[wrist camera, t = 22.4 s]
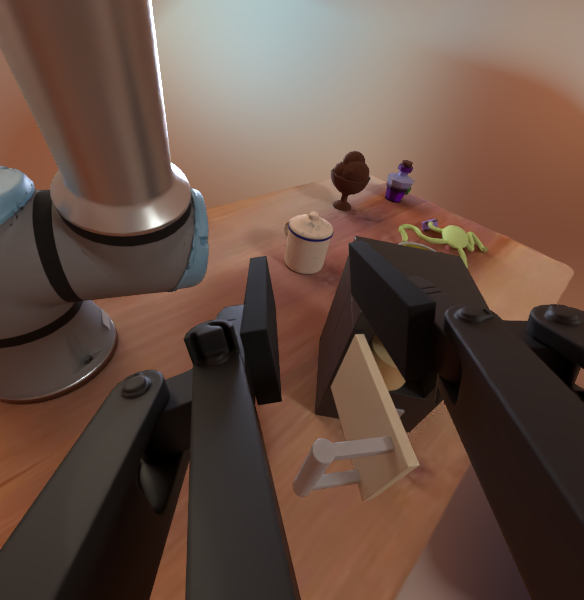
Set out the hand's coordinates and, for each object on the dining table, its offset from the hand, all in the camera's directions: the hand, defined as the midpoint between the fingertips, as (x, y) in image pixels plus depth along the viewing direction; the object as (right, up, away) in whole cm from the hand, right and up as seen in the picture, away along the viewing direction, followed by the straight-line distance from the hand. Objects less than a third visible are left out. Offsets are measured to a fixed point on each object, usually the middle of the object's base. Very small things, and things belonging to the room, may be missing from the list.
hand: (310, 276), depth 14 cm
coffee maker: (+9, -13, +29) cm, 34 cm away
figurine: (+38, +12, +62) cm, 74 cm away
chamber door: (+2, -15, +14) cm, 21 cm away
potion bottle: (+33, +33, +83) cm, 95 cm away
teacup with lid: (+1, +8, +50) cm, 51 cm away
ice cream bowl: (+14, +27, +73) cm, 79 cm away
